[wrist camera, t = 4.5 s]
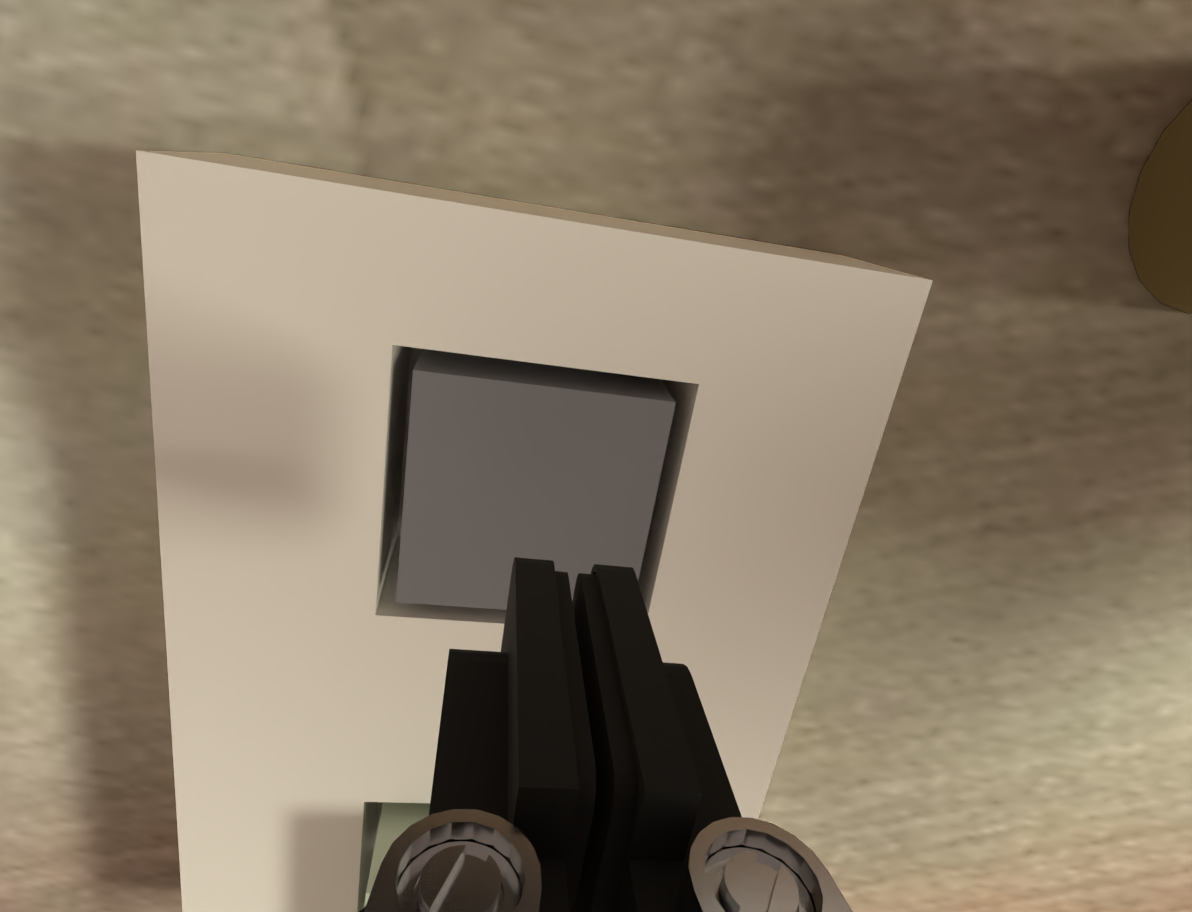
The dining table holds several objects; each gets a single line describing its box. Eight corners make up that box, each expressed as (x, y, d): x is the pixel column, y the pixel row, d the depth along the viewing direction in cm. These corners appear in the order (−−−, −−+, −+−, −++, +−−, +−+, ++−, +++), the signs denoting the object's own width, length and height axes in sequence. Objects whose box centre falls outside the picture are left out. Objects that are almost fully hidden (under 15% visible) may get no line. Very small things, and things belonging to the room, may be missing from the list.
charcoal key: (647, 362, 17) (675, 402, 14) (611, 550, 19) (630, 618, 16) (428, 333, 16) (413, 370, 13) (412, 533, 18) (395, 602, 15)
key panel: (842, 255, 17) (932, 280, 14) (665, 895, 25) (692, 1019, 22) (225, 152, 15) (135, 149, 11) (240, 894, 23) (189, 1034, 19)
